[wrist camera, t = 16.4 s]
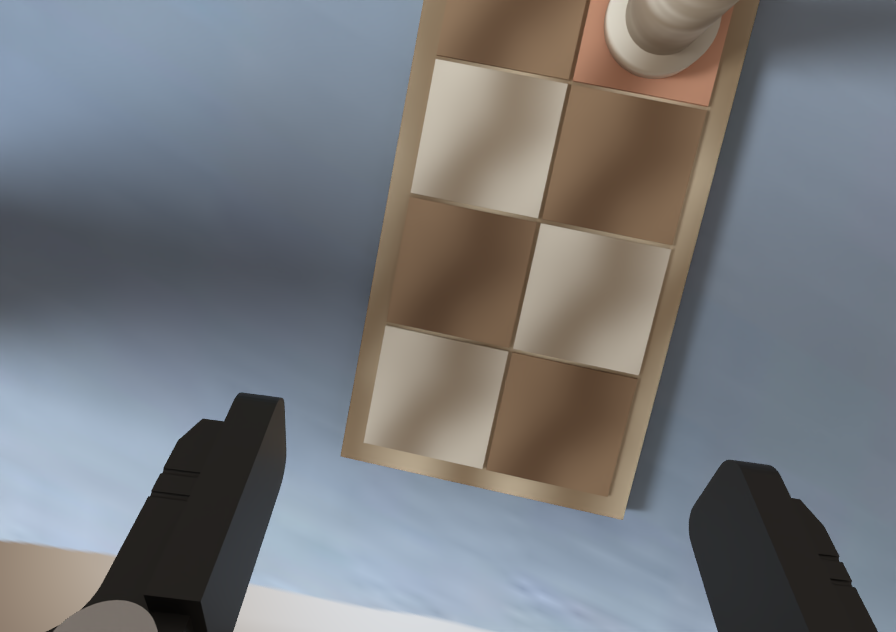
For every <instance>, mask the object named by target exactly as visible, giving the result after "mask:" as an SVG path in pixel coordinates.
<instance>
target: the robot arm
mask: <svg viewBox="0 0 896 632" xmlns="http://www.w3.org/2000/svg"><path fill="white" fill-rule="evenodd" d="M285 463H286V431H285V406H284V400H283V398H279V397H272V396H264V395H257V394H249V393H242V392H241V393H239V394H238V395H237V396H236V398H235V399H234V401H233V403H232V406H231V408H230V410H229V412H228V414H227V416H226V419H225V421H217V420H209V419H202V420H201V421H200V422H198V423H197V424H196V425H195V426H194V427H193V428H192V429H191V430H189V431H188V432H187V433H186V434H185V435H184V436H183V437H181V438H180V439H179V440H178V442H177V443H176V445H175V447H174V449H173V451H172V453H171V455H170V457H169V459H168V460H167V462H166V464H165V466H164V470H163V473H161V474H160V475H159V477H158V479H157V481H156V483H155V485H154V487H153V489H152V493H151V496H150V497H149V496H148V498H147V500H146V502H145V504H144V506H143V508H142V509H141V511H140V513H139V515H138V517H137V519H136V521H135V523H134V524H133V526H132V528H131V530H130V532H129V534H128V536H127V538H126V540H125V541H124V543H123V545H122V547H121V549H120V551H119V553H118V555H117V557H116V558H115V560H114V562H113V564H112V566H111V568H110V570H109V572H108V574H107V575H106V577H105V579H104V581H103V583H102V584H101V587H100V588H99V589H98V591H97V592H96V594H95V595H94V596H93V597H92V599H91V600H90V601H89V602H88V603H87V604H86V605H85V606H84V607H83V608H82V609H81V610H80V611H78V612H76V613H75V614H73V615H72V616H70V617H69V618H67V619H66V620H65V621H64V622H63V623H61V624H60V625H59V626H57V627H55V628H53V629H51V630H49V631H47V632H233V630H234V627H235V624H236V621H237V618H238V615H239V612H240V608H241V606H242V603H243V599H244V597H245V593H246V590H247V587H248V584H249V581H250V578H251V575H252V572H253V569H254V566H255V563H256V560H257V557H258V554H259V551H260V548H261V545H262V542H263V539H264V535H265V532H266V529H267V526H268V523H269V520H270V517H271V514H272V511H273V508H274V505H275V502H276V499H277V496H278V493H279V490H280V486H281V483H282V479H283V475H284V469H285ZM689 536H690V541H691V544H692V548H693V551H694V554H695V558H696V561H697V564H698V567H699V571H700V574H701V577H702V581H703V584H704V587H705V591H706V594H707V597H708V601H709V604H710V607H711V610H712V614H713V617H714V620H715V624H716V627H717V630H718V632H878V631H877V629H876V627H875V625H874V623H873V621H872V619H871V617H870V615H869V613H868V611H867V609H866V608H865V606H864V604H863V602H862V600H861V598H860V596H859V594H858V592H857V590H856V588H855V587H852V585H851V582H852V580H851V578H850V576H849V574H848V572H847V570H846V568H845V566H844V564H843V562H839V555H838V553H837V551H836V549H835V547H834V545H833V543H832V541H831V539H830V537H829V535H828V533H827V531H826V529H825V527H824V526H823V525H822V524H821V522H820V521H819V520H818V519H817V518H816V517H815V516H814V515H813V513H812V512H811V511H810V510H809V509H808V508H807V507H806V506H805V504H804V503H803V502H802V501H801V500H800V499H794V498H791V497H790V495H789V492H788V490H787V488H786V486H785V484H784V482H783V480H782V478H781V476H780V474H779V472H778V471H777V470H776V469H775V468H774V467H772V466H770V465H765V464H758V463H750V462H743V461H735V460H726V461H724V462H723V463H722V464H721V466H720V467H719V468H718V470H717V471H716V473H715V474H714V476H713V477H712V479H711V480H710V482H709V483H708V485H707V486H706V488H705V489H704V491H703V492H702V494H701V495H700V497H699V498H698V500H697V501H696V503H695V504H694V506H693V508H692V510H691V514H690V518H689Z"/></svg>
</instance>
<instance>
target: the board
mask: <svg viewBox="0 0 896 632" xmlns="http://www.w3.org/2000/svg"><path fill="white" fill-rule="evenodd" d="M609 1H610V0H424V1H423V7H422V12H421V18H420V23H419V29H418V34H417V40H416V45H415V51H414V56H413V62H412V67H411V73H410V78H409V84H408V89H407V95H406V100H405V106H404V111H403V117H402V122H401V127H400V133H399V138H398V144H397V149H396V155H395V160H394V166H393V171H392V177H391V182H390V188H389V193H388V199H387V204H386V210H385V215H384V221H383V226H382V232H381V237H380V243H379V248H378V254H377V259H376V265H375V270H374V276H373V281H372V286H371V292H370V297H369V303H368V308H367V314H366V319H365V325H364V330H363V336H362V341H361V347H360V352H359V358H358V363H357V369H356V374H355V380H354V385H353V391H352V396H351V402H350V407H349V413H348V418H347V424H346V429H345V435H344V440H343V445H342V451H341V457H346V458H350V459H355V460H359V461H364V462H368V463H373V464H377V465H381V466H386V467H390V468H395V469H399V470H404V471H408V472H412V473H417V474H421V475H426V476H430V477H435V478H439V479H443V480H448V481H452V482H457V483H461V484H466V485H470V486H475V487H479V488H483V489H488V490H492V491H497V492H501V493H506V494H510V495H514V496H519V497H523V498H528V499H532V500H537V501H541V502H546V503H550V504H554V505H559V506H563V507H568V508H572V509H577V510H581V511H585V512H590V513H594V514H599V515H603V516H608V517H612V518H616V519H621V520H623V517H624V513H625V509H626V506H627V502H628V498H629V494H630V491H631V487H632V483H633V479H634V475H635V472H636V468H637V464H638V460H639V456H640V453H641V449H642V445H643V441H644V437H645V434H646V430H647V426H648V422H649V418H650V415H651V411H652V407H653V403H654V399H655V396H656V392H657V388H658V384H659V381H660V377H661V373H662V369H663V365H664V362H665V358H666V354H667V350H668V346H669V343H670V339H671V335H672V331H673V327H674V324H675V320H676V316H677V312H678V308H679V305H680V301H681V297H682V293H683V290H684V286H685V282H686V278H687V274H688V271H689V267H690V263H691V259H692V255H693V252H694V248H695V244H696V240H697V236H698V233H699V229H700V225H701V221H702V217H703V214H704V210H705V206H706V202H707V198H708V195H709V191H710V187H711V183H712V180H713V176H714V172H715V168H716V164H717V161H718V157H719V153H720V149H721V145H722V142H723V138H724V134H725V130H726V126H727V123H728V119H729V115H730V111H731V107H732V104H733V100H734V96H735V92H736V89H737V85H738V81H739V77H740V73H741V70H742V66H743V62H744V58H745V54H746V51H747V47H748V43H749V39H750V35H751V32H752V28H753V24H754V20H755V16H756V13H757V9H758V5H759V1H760V0H739V1H738V2H737V3H736V4H734V5H733V6H732V7H731V8H730V9H729V10H728V11H727V12H726V13H724V14H723V15H722V17H721V22H720V27H719V30H718V32H717V35H716V37H715V39H714V41H713V42H712V44H711V45H710V47H709V48H708V49H707V51H706V52H705V53H704V54H703V55H702V56H701V57H700V58H699V59H697V60H696V61H695V62H694V63H692V64H691V65H690V66H689V67H687V68H686V69H684V70H683V71H681V72H679V73H677V74H675V75H673V76H670V77H666V78H661V79H647V78H642V77H638V76H635V75H633V74H631V73H629V72H628V71H626V70H625V69H623V68H622V67H621V66H620V65H619V64H618V63H617V62H616V61H615V60H614V58H613V57H612V55H611V54H610V52H609V49H608V47H607V44H606V41H605V36H604V17H605V12H606V9H607V6H608V3H609Z"/></svg>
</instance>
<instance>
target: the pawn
mask: <svg viewBox="0 0 896 632" xmlns="http://www.w3.org/2000/svg"><path fill="white" fill-rule="evenodd" d="M738 1H739V0H610V1H609V3H608V6H607V9H606V12H605V17H604V36H605V41H606V44H607V47H608V49H609V52H610V54H611V55H612V57H613V58H614V60H615V61H616V62H617V63H618V64H619V65H620V66H621V67H622V68H623V69H625V70H626V71H628V72H629V73H631V74H633V75H635V76H638V77H642V78H647V79H661V78H666V77H670V76H673V75H675V74H677V73H679V72H681V71H683V70H684V69H686V68H687V67H689V66H690V65H691V64H692V63H694V62H695V61H696V60H697V59H699V58H700V57H701V56H702V55H703V54H704V53H705V52H706V51H707V49H708V48H709V47H710V45H711V44H712V42H713V41H714V39H715V37H716V35H717V32H718V30H719V27H720V22H721V17H722V15H723V14H724V13H726V12H727V11H728V10H729V9H730V8H731V7H732V6H733V5H734V4H736V3H737V2H738Z"/></svg>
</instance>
